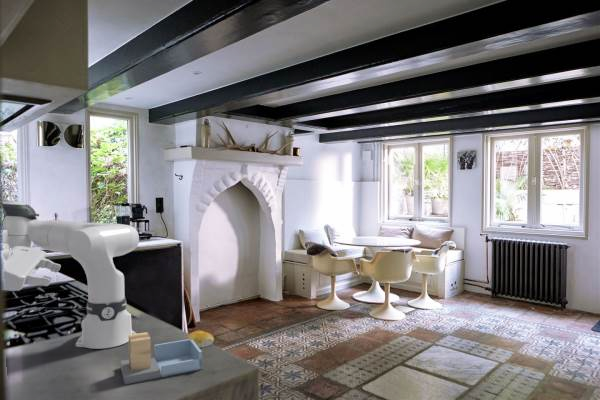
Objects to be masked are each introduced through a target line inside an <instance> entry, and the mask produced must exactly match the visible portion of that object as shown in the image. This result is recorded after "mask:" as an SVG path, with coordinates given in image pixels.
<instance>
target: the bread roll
mask: <svg viewBox="0 0 600 400" xmlns="http://www.w3.org/2000/svg"><path fill="white" fill-rule="evenodd" d="M187 339H193V341H194V342H195V343H196V345H197V346H198V347H199V348H200V349H201V348H206V347H209V346H212V344H213V343H214V340H215V337H214V335H212V334H211V333H209V332H207V331H203V330H195V331H192V332H191V333H189V334H188V335H187V337H186V340H187Z"/></svg>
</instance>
